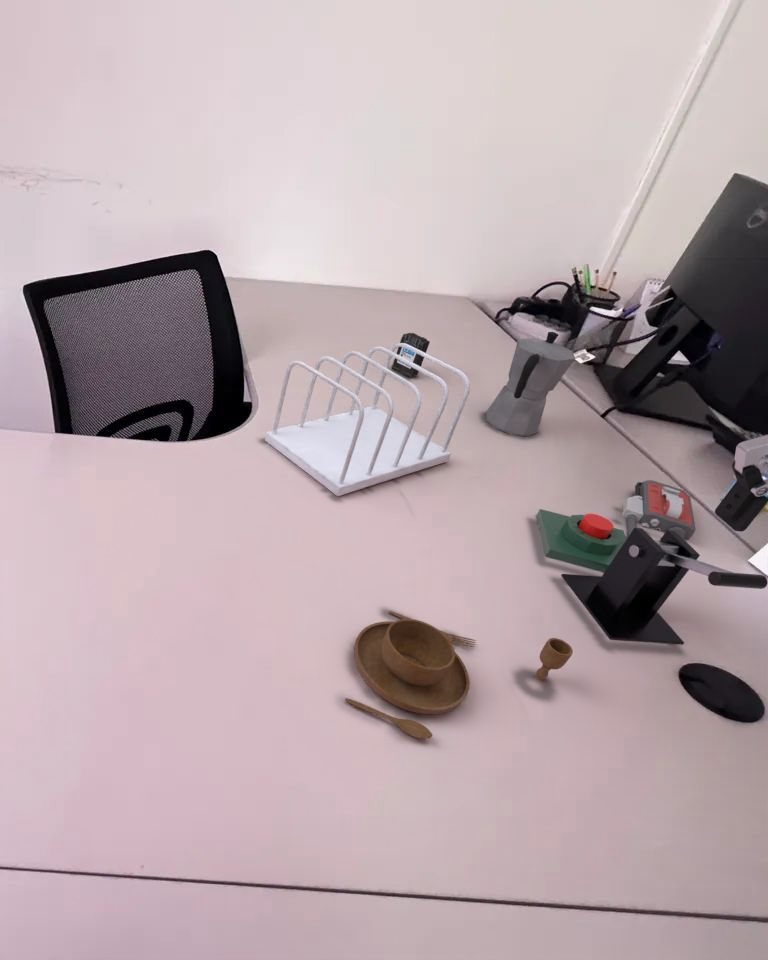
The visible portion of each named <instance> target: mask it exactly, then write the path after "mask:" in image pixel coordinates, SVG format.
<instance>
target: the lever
mask: <svg viewBox="0 0 768 960" xmlns="http://www.w3.org/2000/svg"><path fill="white" fill-rule="evenodd" d="M653 540H654V539H653ZM654 541H655V542H656V543H657V544H658V545H659V546H660V547H661V548H662V549H663V550H664V551H665V552H666V554H665V555H664V557H663V558H662V559H661V561H660V562H659V564H658V566H672V567H674V566H675V565H678V566H681V567H684V568H687V569H689V570H690V571H692V572H695V573H697V574H701V575H705V576H707V580H708V582H709V584H710V585H711V586H715V587H728V588H744V589H754V590H755V589H758V590H763V589H766V587H767V586H768V578H767V577H766V576H765V575H763V574H759V573H758V574H757V573H741V572H733V571H731V570H727V569H724V568H721V567H718V566H717V565H716V566H715V565H713V564H710V563H706V562H704V561H700V560H698V559H697V560H695V559H692V558H689V557H686V556H683V555H680V554H678V550H679V547H678V546H675V545H672V544H669V543H666V542H663V541H660V539H659V540H658V539H657V540H656V539H655V540H654Z"/></svg>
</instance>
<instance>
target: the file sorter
mask: <svg viewBox="0 0 768 960" xmlns="http://www.w3.org/2000/svg"><path fill="white" fill-rule="evenodd" d="M398 347H404V348H407V349H409V350H411V351H413V352H415V353H417V354H419V355H421V356H423V357H424V359H427V360H429V361H430V362H433V363H435V364H436V365H439V366H440V367H443V368H444V369H446V370H449V372H453V373H454V374H456V375H458V376H459V377H460V378H461V379H462V381H463V383H464V386H465V387H464V393H463V395H462V397H461V398H462V399H461V401H460V403H459V406H458V408H457V411H456V413H455V416H454V419H453V420H452V424H451V426H450V428H449V430H448V434H447V436H446V438H445V440H444V443H443V446H441V445H440V444H438V443H437V442H434V441H433V440H432V437H433V435H434V432H435V431H436V428H437V426H438V424H439V422H440V419H441V417H442V414H443V412H444V409H445V407H446V405H447V403H448V399H449V387H448V385H447V383H446V382H445V380H444V379H443V378H441V377H440V376H438V375H436V374H435V373H433V372H431V371H430V370H427V369H425V368H424V367H422V366H421V367H420V366H418V365H416V364H414V363H413V362H411V361H409V360H407V359H405V358H403V357H402V356H400V355H398V354H396V353H397V352H395V350H396V349H398ZM378 351H380V352H383V353H385V354H387V358H386V361H385V363H384V365H383V364H381V363H378V361H375V360H374V359H372V358H371V357H372V355H373V354H374V353H375V352H378ZM351 356H356V357H358V358H360V359H361V360H363V361H364V362H363V366H362V368H361V372H360V373H359V372H357V371H355V370H354V369H352V368H351V367H349V366H347V365H346V363H347V360H348V359H349V357H351ZM392 358H394V359H395V358H396V359H398V360H400V361H401V362H403V363H405V364H407V365H409V366H411V367H412V368H414V369H416V370H418V371H419V373H421V374H423V375H425V376H426V377H429V378H431V379H432V380H434V381H436V382H437V383H438V384H439V385H440V386H441V388H442V391H443V398H442V401H441V403H440V406H439V408H438V410H437V413H436V416H435V418H434V420H433V422H432V425H431V427H430V429H429V431H428V434H427V436H425V435H423V434H421V433H420V432H418V431H417V430H415V429H413V427H414V425H415V423H416V421H417V418H418V415H419V412H420V409H421V406H422V395H421V392H420V390H419V389H418V387H417V386H416V385H415V384H414V383H412V382H411V381H410V380H408V379H406V378H404V377H402V375H401V376H400V375H399V374H398V373H396V372H394V371H392V370H390V369H389V367H390V363H391V360H392ZM325 361H328V362H330V363H332V364H334V365H336V366H337V367H338V368H339V369H338V371H337V375H336V377H335V380H333V378H330V377H329V376H326V374H324V373H322V372H320V371H319V370H320V367H321V365H322V364H323V362H325ZM369 364H370V365H372V366H373V367H375V368H377V369H378V370H380V371H381V372H382V373H381V376H380V379H379V383H378V384H377V383H375V382H373V381H372V380H370V379H369V378H367V377H365V375H366V371H367V369H368V366H369ZM295 366H300V367H302V368H303V369H305V370H306V371H308V372H310V373H311V374H312V377H311V380H310V384H309V388H308V390H307V391H308V392H307V395H306V399H305V401H304V407H303V410H302V413H301V416H300V420H299V423H297V424H292V425H288V426H285V427H284V426H283V427H280V428H278V427H279V423H280V418H281V416H282V411H283V406H284V402H285V397H286V393H287V387H288V384H289V380H290V375H291V372H292V369H293V367H295ZM344 371H345V372H346V373H348V374H350V375H351V376H353V377H355V378H356V379H358V381H357V384H356V387H355V391H354V392H353V391H351V390H349V389H348V388H346V387H344V385H341V384H340V381H341V378H342V375H343V372H344ZM387 375H388V376H389V377H391V378H393V379H394V380H396V381H398V382H399V383H402V384H403V385H405V386H406V387H408V388H409V389H411V390H412V392H413V394H414V395H415V398H416V399H415V400H416V403H415V408H414V410H413V412H412V414H411V419H410V421H409V423H408V425H407V424H405V423H404V422H402V421H401V420H399V419H398V418H395V417H394V416H393V415H394V409H395V407H394V406H395V405H394V400H393V398H392V396H391V394H390V393H389V391H387V390H386V389H384V388H383V385H384V382H385V379H386V376H387ZM317 378H319V379H321V380H323V381H324V382H326V384H327V383H328V384H329V385H331V386H332V387H333V389H332V391H331V395H330V398H329V402H328V405H327V409H326V413H325V415H324V417H321V418H317V419H313V420H309V421H305V420H306V417H307V413H308V409H309V406H310V402H311V399H312V395H313V393H314V392H313V391H314V387H315V384H316V381H317ZM363 383H364V384H366V385H367V386H369V387H370V388H372V389H374V390H375V395H374V399H373V400H372V401H373V402H372V405H369V406H366V407H365V406H364V404H363V402H362V400H361V399H360V397H359V394H360V390H361V387H362V384H363ZM338 391H340V392H342V393H344V394H345V395H347V396H348V397H350V398H351V399H352V400H351V404H350V407H349V410H348V411H346V412H342V413H337V414H333V415H331V412H332V408H333V405H334V401H335V398H336V396H337V392H338ZM470 391H471V383H470V379H469V378H468V376H467V374H466V373H464V372H463V371H462V370H461V369H458V368H457V367H454V366H452V365H450V364H448V363H447V362H444V361H442V360H440V359H439V358H437V357H434V356H432V355H430V354H428V353H427V352H426V353H424V352H422V351H420V350H418V349H416V348H414V347H412V346H410V345H408V344H406V343H400V342H399V343H396V344H394V345H393V346H392V347H391V348H390V349H389V348H387V347H384V346H375V347H373V348H371V349H370V350H369V351H368V353H367V354H366V355H365V354H363V353H361V352H359V351H357V350H356V351H355V350H353V351H348V352H347V353H346V354H345V355H343V357H342V360H341V361H339V360H338V359H336V358H334V357H333V356H322V357H320V358H319V359H318V360H317V362H316V364H315V366H314V367H312V366H311V365H309V364H308V363H306V362H303V361H300V360H294V361H292V362H290V363H289V364H288V366H287V367H286V370H285V373H284V378H283V382H282V386H281V391H280V396H279V400H278V405H277V410H276V414H275V418H274V424H273V427H272V429H271V430H268V431H266V433H265V436H264V441H265V442H266V443H268V444H269V445H270V446H272V447H273V448H274V449H275V450H277V451H278V452H280V453H281V454H283V456H285V457H286V458H287V459H289V460H290V461H291V462H293V463H294V464H295V465H296V466H298V467H299V468H300V469H302V470H303V471H304V472H306V473H307V474H308V475H309V476H311V477H312V478H313V479H315V480H316V481H317V482H318V483H320V485H322V486H324V487H325V488H326V489H328V490H329V491H330V492H331V493H333V494H334V495H335V496H337V497H341V496H343V495H346V494H349V493H352V492H355V491H358V490H361V489H365V488H368V487H371V486H374V485H378V484H380V483H384V482H386V481H387V482H388V481H390V480H393V479H397V478H399V477H402V476H406V475H409V474H411V473H412V474H413V473H416V472H419V471H421V470H425V469H428V468H431V467H434V466H437V465H441V464H443V463H446V462H449V460H450V457H451V455H452V452H451V451H449V450H448V447H449V444H450V442H451V439H452V437H453V434H454V432H455V430H456V427H457V425H458V422H459V420H460V417H461V415H462V413H463V410H464V407H465V406H466V402H467V399H468V397H469V394H470ZM380 395H383V396H384V397H385V399H386V401H387V403H388V413H387V412H385V410H383V409H380V408H379V407H377V404H378V402H379V398H380ZM356 405H357V407H358V409H355V407H356Z"/></svg>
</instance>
